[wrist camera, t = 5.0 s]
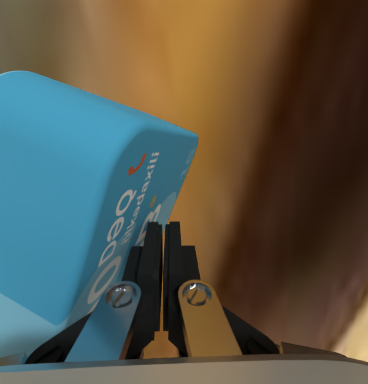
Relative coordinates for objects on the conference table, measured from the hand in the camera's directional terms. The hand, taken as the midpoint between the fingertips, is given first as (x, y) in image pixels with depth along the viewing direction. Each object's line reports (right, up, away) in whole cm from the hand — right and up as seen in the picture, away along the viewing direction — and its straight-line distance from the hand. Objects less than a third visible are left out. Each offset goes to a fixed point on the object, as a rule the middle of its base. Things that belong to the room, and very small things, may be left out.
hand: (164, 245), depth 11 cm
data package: (-2, +3, +7) cm, 8 cm away
